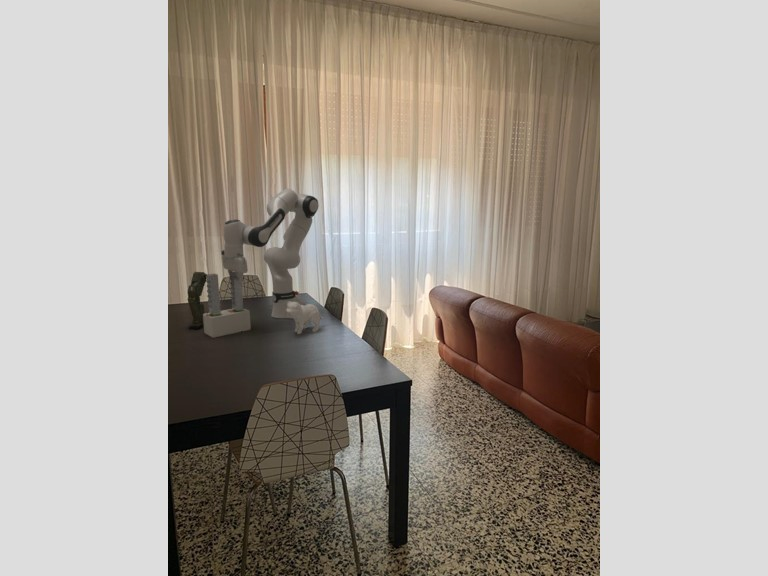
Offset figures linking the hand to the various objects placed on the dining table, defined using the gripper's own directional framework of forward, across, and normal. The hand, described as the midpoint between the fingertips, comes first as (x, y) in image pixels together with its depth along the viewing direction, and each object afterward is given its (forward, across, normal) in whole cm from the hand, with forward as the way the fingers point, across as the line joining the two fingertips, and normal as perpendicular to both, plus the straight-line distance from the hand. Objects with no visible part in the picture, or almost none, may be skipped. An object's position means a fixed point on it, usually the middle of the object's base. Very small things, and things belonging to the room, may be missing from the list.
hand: (236, 279), depth 224 cm
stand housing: (+26, 0, +6) cm, 27 cm away
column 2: (+18, 0, 0) cm, 18 cm away
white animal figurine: (+26, -26, -24) cm, 44 cm away
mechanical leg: (+26, +18, +13) cm, 34 cm away
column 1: (+18, 0, +12) cm, 22 cm away
